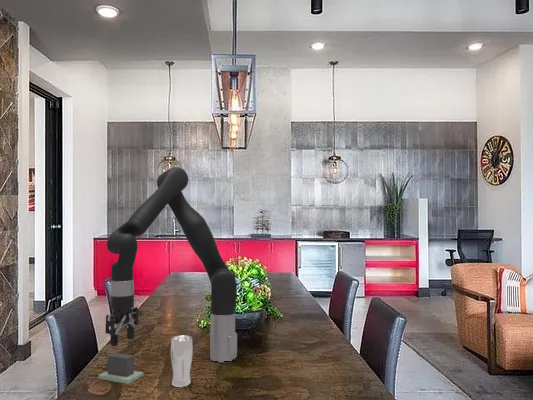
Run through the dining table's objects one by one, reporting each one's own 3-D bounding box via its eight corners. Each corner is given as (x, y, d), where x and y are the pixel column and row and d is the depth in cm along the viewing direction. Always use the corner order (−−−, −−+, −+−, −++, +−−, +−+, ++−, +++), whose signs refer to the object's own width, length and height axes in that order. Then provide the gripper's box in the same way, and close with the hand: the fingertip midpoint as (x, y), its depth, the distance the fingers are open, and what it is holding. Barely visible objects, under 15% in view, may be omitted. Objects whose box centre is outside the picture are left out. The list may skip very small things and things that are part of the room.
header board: (143, 376, 166) (143, 361, 166) (128, 383, 159) (128, 369, 159) (114, 371, 171) (114, 357, 171) (98, 378, 163) (98, 364, 163)
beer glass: (193, 381, 162) (194, 335, 162) (191, 388, 155) (191, 340, 155) (172, 381, 162) (172, 335, 162) (168, 389, 155) (169, 340, 155)
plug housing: (133, 373, 165) (133, 355, 165) (126, 377, 162) (127, 358, 162) (114, 370, 168) (114, 352, 168) (107, 373, 164) (107, 355, 164)
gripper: (118, 298, 156) (118, 349, 156) (144, 290, 170) (144, 337, 170) (98, 296, 159) (99, 347, 159) (126, 289, 172) (126, 336, 172)
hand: (122, 342), depth 164 cm, fingers open, 8 cm apart
